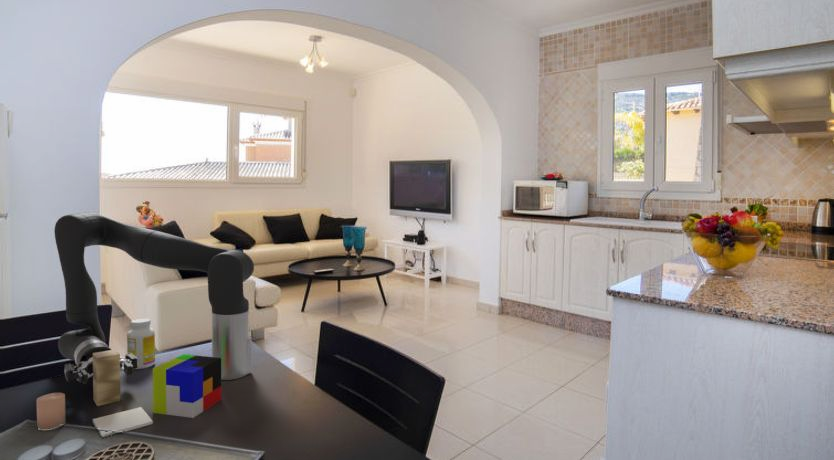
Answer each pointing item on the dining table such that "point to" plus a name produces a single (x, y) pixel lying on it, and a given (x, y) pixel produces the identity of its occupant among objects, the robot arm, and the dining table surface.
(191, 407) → the puzzle toy
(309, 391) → the dining table surface
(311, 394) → the dining table surface
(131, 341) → the supplement bottle
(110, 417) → the coaster
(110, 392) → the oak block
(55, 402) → the peach short upright block
